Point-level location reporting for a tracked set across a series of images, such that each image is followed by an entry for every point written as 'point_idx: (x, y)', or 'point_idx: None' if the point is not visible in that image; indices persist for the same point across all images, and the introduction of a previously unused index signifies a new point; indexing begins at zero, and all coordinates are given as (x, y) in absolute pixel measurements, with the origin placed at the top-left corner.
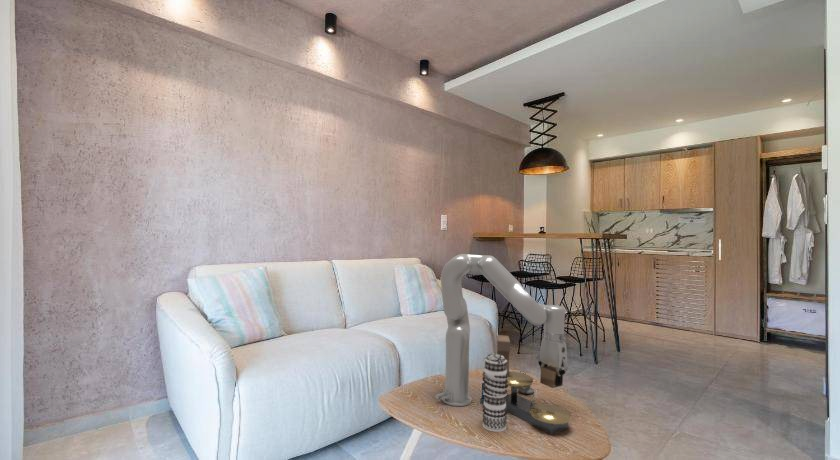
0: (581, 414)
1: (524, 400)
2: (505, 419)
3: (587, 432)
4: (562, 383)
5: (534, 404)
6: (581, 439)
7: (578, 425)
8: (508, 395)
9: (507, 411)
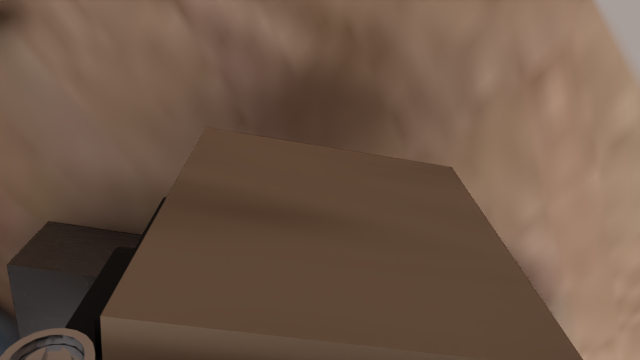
0: (559, 21)
1: None
2: None
3: (633, 257)
4: (461, 188)
5: None
6: (608, 339)
7: (568, 216)
8: (34, 325)
9: None
